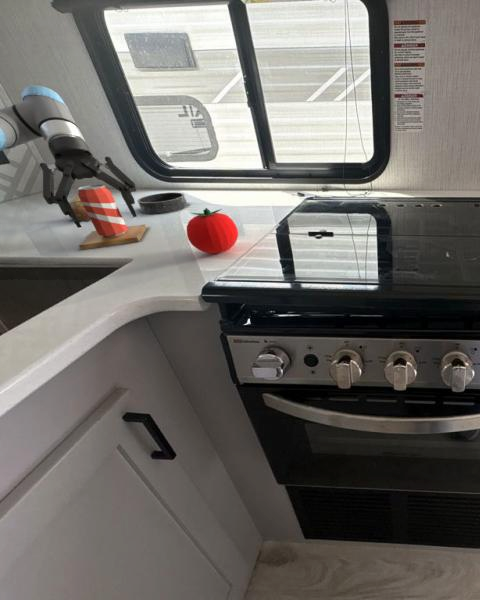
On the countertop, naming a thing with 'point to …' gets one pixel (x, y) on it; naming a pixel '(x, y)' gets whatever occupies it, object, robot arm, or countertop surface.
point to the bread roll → (79, 210)
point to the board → (113, 238)
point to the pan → (162, 203)
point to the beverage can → (102, 210)
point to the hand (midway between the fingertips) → (107, 219)
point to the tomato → (212, 232)
